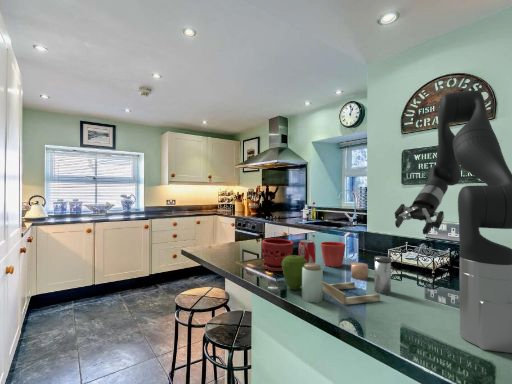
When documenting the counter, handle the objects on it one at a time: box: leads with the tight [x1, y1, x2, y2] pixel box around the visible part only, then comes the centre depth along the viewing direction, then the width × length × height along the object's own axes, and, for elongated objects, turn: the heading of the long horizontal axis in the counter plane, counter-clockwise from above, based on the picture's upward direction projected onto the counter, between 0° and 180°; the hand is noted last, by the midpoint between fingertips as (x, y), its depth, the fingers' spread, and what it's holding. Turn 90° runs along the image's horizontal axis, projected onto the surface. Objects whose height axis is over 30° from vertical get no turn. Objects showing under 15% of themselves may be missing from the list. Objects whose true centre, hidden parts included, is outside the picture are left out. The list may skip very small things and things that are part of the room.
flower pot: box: [320, 241, 346, 268], centre depth 122 cm, size 11×11×10 cm
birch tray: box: [322, 280, 381, 306], centre depth 84 cm, size 12×12×3 cm
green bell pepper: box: [282, 254, 307, 291], centre depth 90 cm, size 9×8×12 cm
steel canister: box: [373, 255, 392, 295], centre depth 88 cm, size 5×5×11 cm
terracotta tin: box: [350, 262, 369, 281], centre depth 104 cm, size 6×6×5 cm
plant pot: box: [261, 238, 294, 272], centre depth 114 cm, size 13×13×12 cm
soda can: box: [297, 239, 317, 264], centre depth 114 cm, size 7×7×12 cm
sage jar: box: [301, 262, 324, 304], centre depth 81 cm, size 6×6×10 cm
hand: (410, 229), depth 93 cm, fingers open, 8 cm apart
